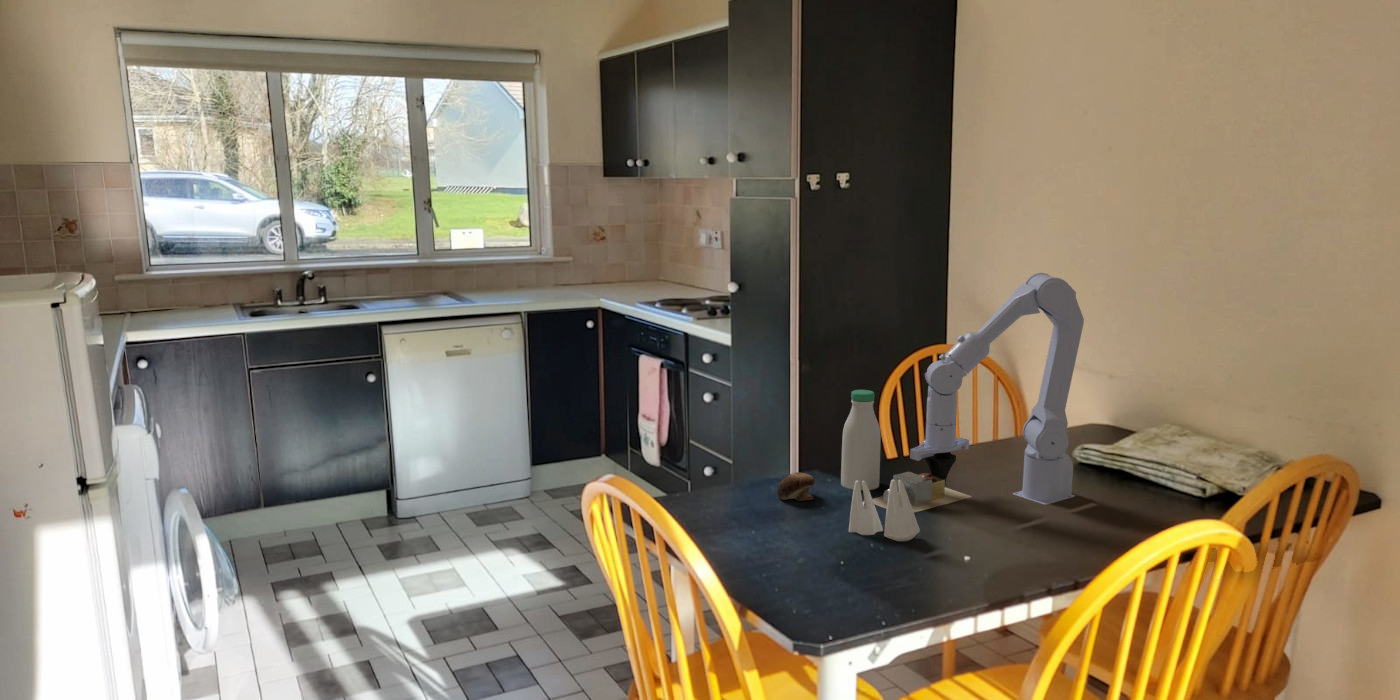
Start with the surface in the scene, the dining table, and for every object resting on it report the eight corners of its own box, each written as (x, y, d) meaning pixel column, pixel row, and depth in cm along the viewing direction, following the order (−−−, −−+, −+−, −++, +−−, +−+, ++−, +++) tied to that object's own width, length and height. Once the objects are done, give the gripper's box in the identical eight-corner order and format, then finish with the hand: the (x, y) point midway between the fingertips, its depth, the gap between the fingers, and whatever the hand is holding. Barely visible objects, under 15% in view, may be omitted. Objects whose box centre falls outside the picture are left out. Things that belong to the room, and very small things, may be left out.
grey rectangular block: (908, 494, 194) (909, 471, 193) (930, 502, 189) (931, 479, 188) (877, 502, 189) (878, 478, 188) (900, 511, 184) (900, 487, 183)
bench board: (933, 486, 201) (933, 483, 200) (972, 499, 192) (972, 496, 192) (865, 503, 190) (865, 500, 190) (903, 518, 182) (903, 515, 182)
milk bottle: (881, 493, 196) (885, 396, 192) (843, 493, 196) (846, 395, 193) (875, 481, 204) (879, 387, 200) (838, 481, 204) (841, 387, 200)
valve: (927, 491, 196) (927, 469, 195) (944, 497, 192) (945, 475, 191) (900, 498, 191) (900, 476, 191) (917, 504, 188) (917, 482, 187)
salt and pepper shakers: (920, 540, 171) (923, 480, 169) (912, 548, 168) (915, 486, 166) (855, 528, 177) (857, 469, 175) (847, 535, 174) (848, 475, 172)
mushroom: (828, 490, 188) (811, 461, 189) (793, 510, 186) (776, 481, 187) (817, 497, 196) (801, 469, 197) (784, 516, 193) (768, 488, 195)
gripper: (951, 413, 199) (948, 477, 201) (899, 423, 191) (897, 490, 193) (978, 420, 193) (975, 486, 195) (926, 431, 185) (923, 500, 187)
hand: (938, 489), depth 194 cm, fingers closed
